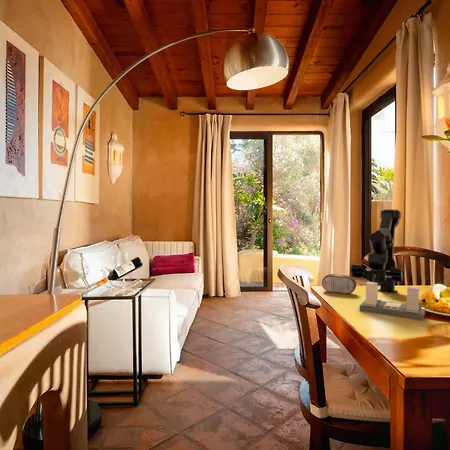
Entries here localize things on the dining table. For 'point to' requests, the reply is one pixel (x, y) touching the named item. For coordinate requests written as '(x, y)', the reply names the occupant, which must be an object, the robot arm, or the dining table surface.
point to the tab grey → (413, 298)
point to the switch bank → (393, 310)
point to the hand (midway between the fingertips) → (372, 290)
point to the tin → (339, 284)
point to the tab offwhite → (371, 293)
